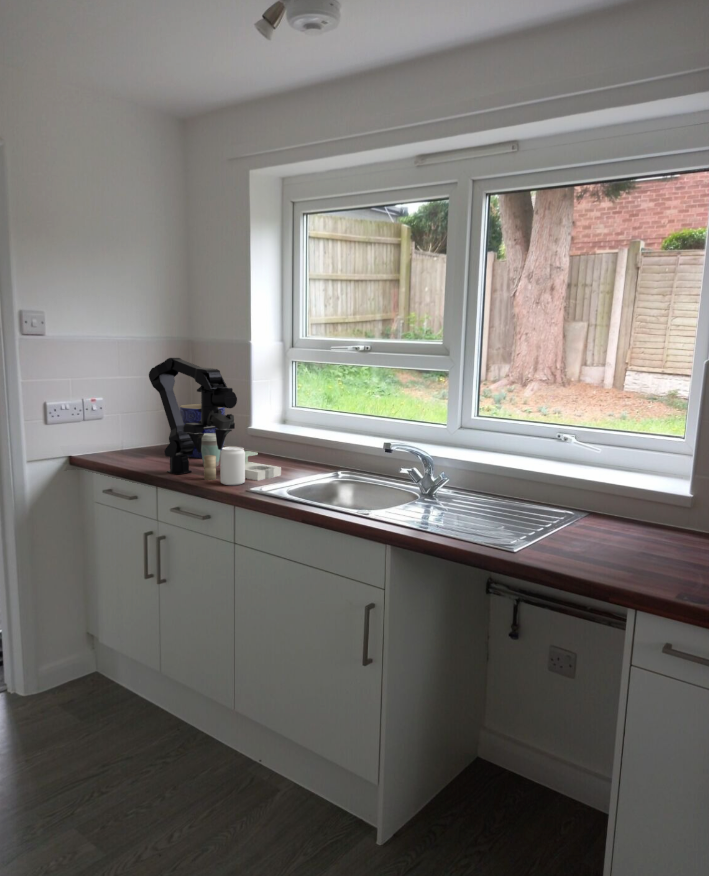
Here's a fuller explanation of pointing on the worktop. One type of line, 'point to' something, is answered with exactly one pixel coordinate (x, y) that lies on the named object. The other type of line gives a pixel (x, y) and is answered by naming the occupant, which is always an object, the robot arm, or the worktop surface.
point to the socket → (261, 471)
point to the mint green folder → (249, 454)
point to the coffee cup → (210, 446)
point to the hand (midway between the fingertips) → (209, 451)
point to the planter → (196, 421)
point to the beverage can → (232, 466)
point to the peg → (210, 467)
